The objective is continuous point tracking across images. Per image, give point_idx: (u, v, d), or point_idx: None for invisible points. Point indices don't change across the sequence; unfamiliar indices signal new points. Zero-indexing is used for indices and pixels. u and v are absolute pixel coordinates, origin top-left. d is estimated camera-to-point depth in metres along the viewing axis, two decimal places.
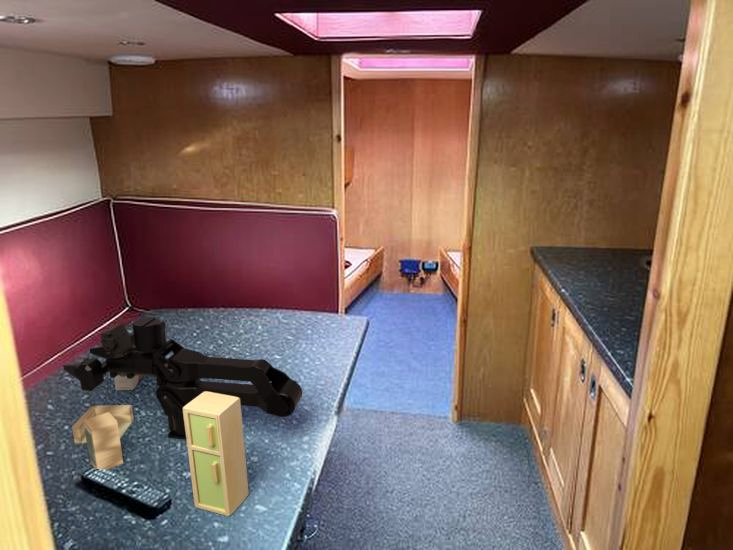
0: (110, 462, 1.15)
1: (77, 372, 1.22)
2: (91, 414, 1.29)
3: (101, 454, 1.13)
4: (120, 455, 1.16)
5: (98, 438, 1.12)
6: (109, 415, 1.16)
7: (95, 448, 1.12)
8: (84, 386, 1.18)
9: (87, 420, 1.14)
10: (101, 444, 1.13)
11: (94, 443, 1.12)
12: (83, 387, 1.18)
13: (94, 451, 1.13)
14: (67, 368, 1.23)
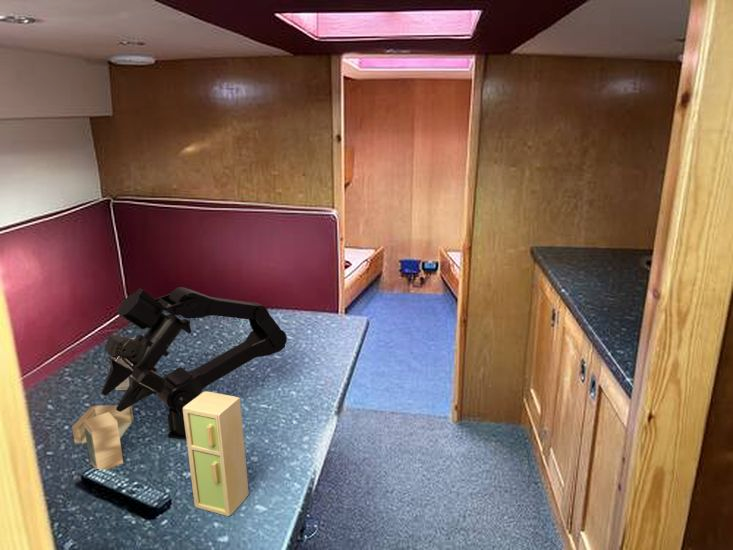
0: (110, 462, 1.15)
1: (134, 395, 1.12)
2: (91, 414, 1.29)
3: (101, 454, 1.13)
4: (120, 455, 1.16)
5: (98, 438, 1.12)
6: (109, 415, 1.16)
7: (95, 448, 1.12)
8: (158, 387, 1.12)
9: (87, 420, 1.14)
10: (101, 444, 1.13)
11: (94, 443, 1.12)
12: (159, 389, 1.12)
13: (94, 451, 1.13)
14: (122, 405, 1.12)
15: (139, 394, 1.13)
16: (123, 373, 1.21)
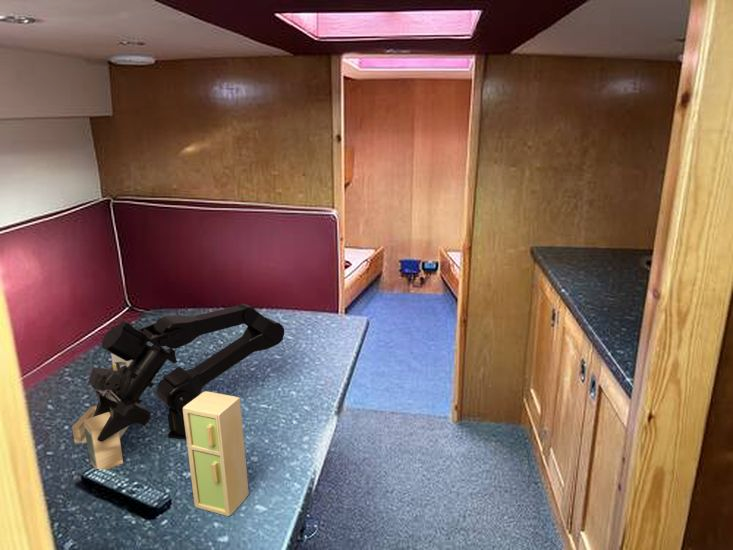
0: (110, 462, 1.15)
1: (116, 425, 1.13)
2: (91, 414, 1.29)
3: (101, 454, 1.13)
4: (120, 455, 1.16)
5: None
6: (109, 415, 1.16)
7: (95, 448, 1.12)
8: (143, 421, 1.11)
9: (87, 420, 1.14)
10: (101, 444, 1.13)
11: (94, 443, 1.12)
12: (143, 422, 1.11)
13: (94, 451, 1.13)
14: (104, 435, 1.12)
15: (120, 424, 1.13)
16: None
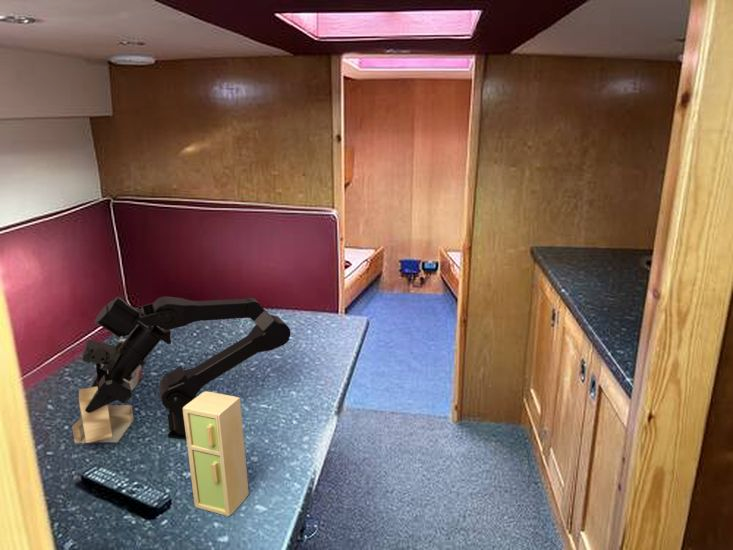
0: (99, 434, 1.17)
1: (102, 399, 1.14)
2: None
3: (89, 425, 1.16)
4: (109, 428, 1.18)
5: None
6: None
7: (83, 418, 1.15)
8: (122, 398, 1.11)
9: (82, 390, 1.18)
10: (89, 415, 1.15)
11: (82, 413, 1.15)
12: (122, 399, 1.11)
13: (82, 421, 1.15)
14: (91, 406, 1.14)
15: (107, 398, 1.15)
16: None
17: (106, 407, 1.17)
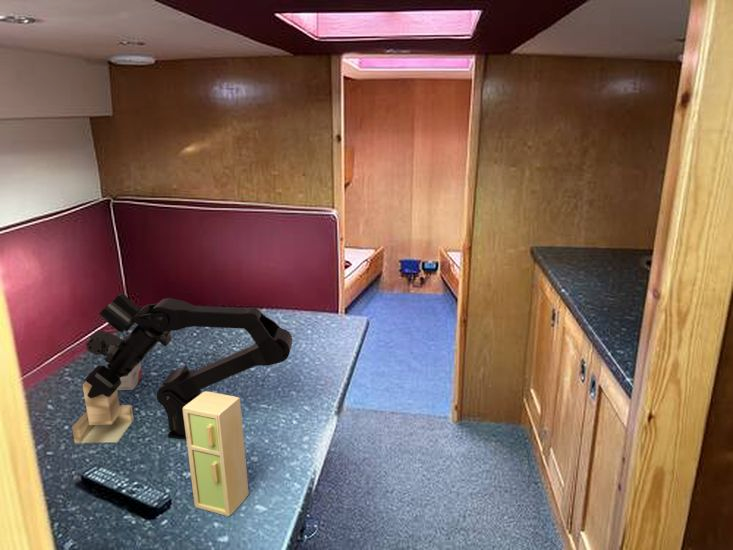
0: (100, 419, 1.24)
1: None
2: None
3: (91, 409, 1.24)
4: (109, 416, 1.24)
5: None
6: None
7: (86, 402, 1.23)
8: (105, 391, 1.15)
9: None
10: (91, 400, 1.23)
11: (85, 397, 1.23)
12: (105, 393, 1.15)
13: None
14: (91, 393, 1.22)
15: None
16: None
17: None
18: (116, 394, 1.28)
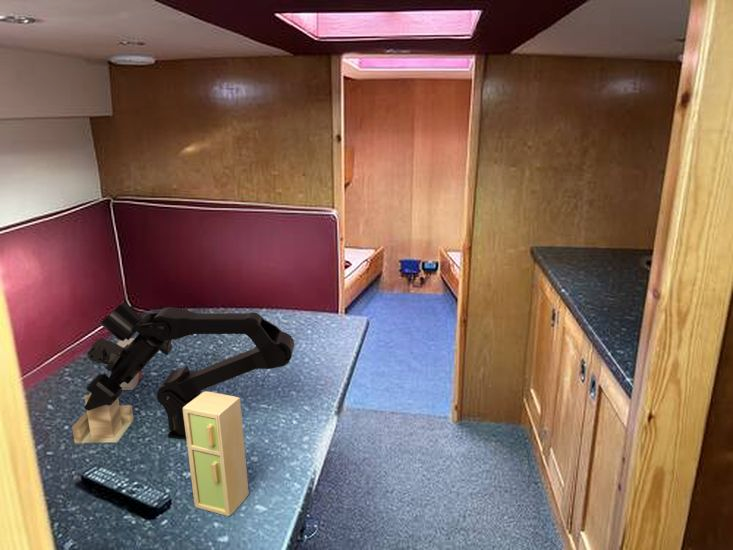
0: (102, 432, 1.25)
1: (97, 400, 1.20)
2: None
3: (93, 423, 1.25)
4: (110, 430, 1.25)
5: None
6: None
7: (88, 415, 1.24)
8: (106, 400, 1.16)
9: None
10: (93, 414, 1.24)
11: (87, 411, 1.24)
12: (106, 401, 1.16)
13: None
14: (88, 405, 1.20)
15: (100, 400, 1.19)
16: None
17: (108, 410, 1.24)
18: (118, 407, 1.29)
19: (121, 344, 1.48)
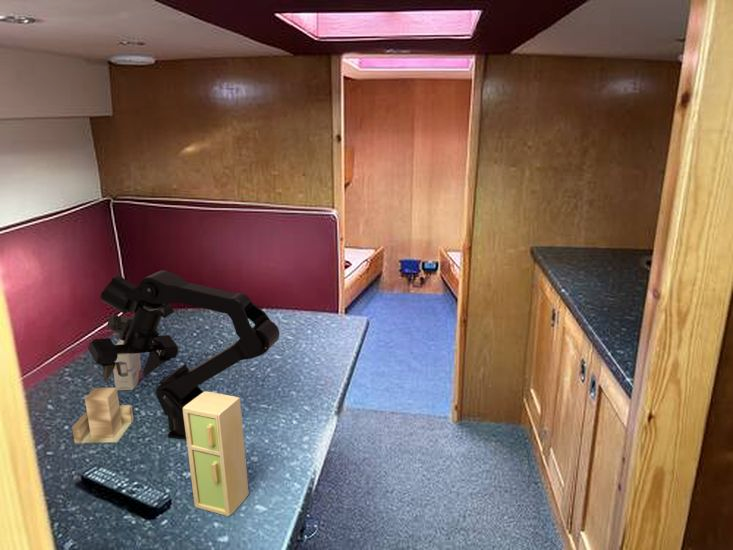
0: (102, 432, 1.25)
1: (105, 367, 1.22)
2: None
3: (93, 423, 1.25)
4: (110, 430, 1.25)
5: (91, 408, 1.24)
6: (111, 390, 1.26)
7: (88, 415, 1.24)
8: (95, 357, 1.17)
9: (96, 389, 1.27)
10: (93, 414, 1.24)
11: (87, 411, 1.24)
12: (95, 359, 1.17)
13: None
14: (103, 374, 1.24)
15: None
16: (154, 359, 1.29)
17: (108, 410, 1.24)
18: (118, 407, 1.29)
19: None
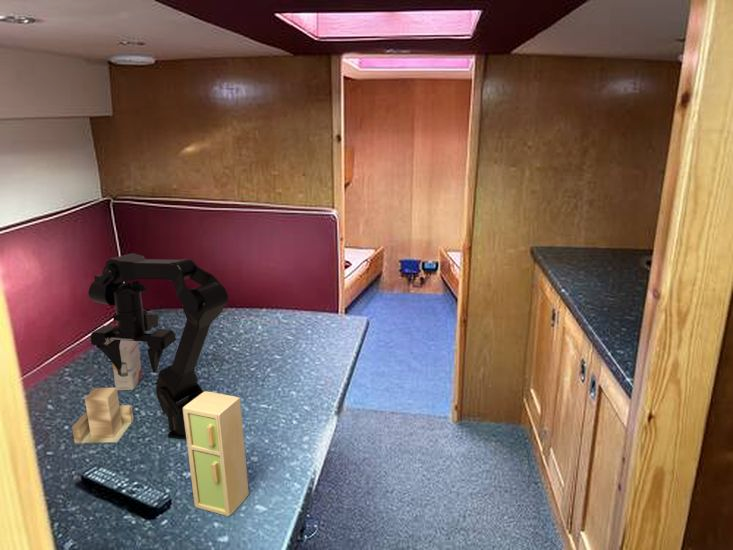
0: (102, 432, 1.25)
1: None
2: None
3: (93, 423, 1.25)
4: (110, 430, 1.25)
5: (91, 408, 1.24)
6: (111, 390, 1.26)
7: (88, 415, 1.24)
8: None
9: (96, 389, 1.27)
10: (93, 414, 1.24)
11: (87, 411, 1.24)
12: None
13: None
14: None
15: None
16: None
17: (108, 410, 1.24)
18: (118, 407, 1.29)
19: (121, 344, 1.48)
